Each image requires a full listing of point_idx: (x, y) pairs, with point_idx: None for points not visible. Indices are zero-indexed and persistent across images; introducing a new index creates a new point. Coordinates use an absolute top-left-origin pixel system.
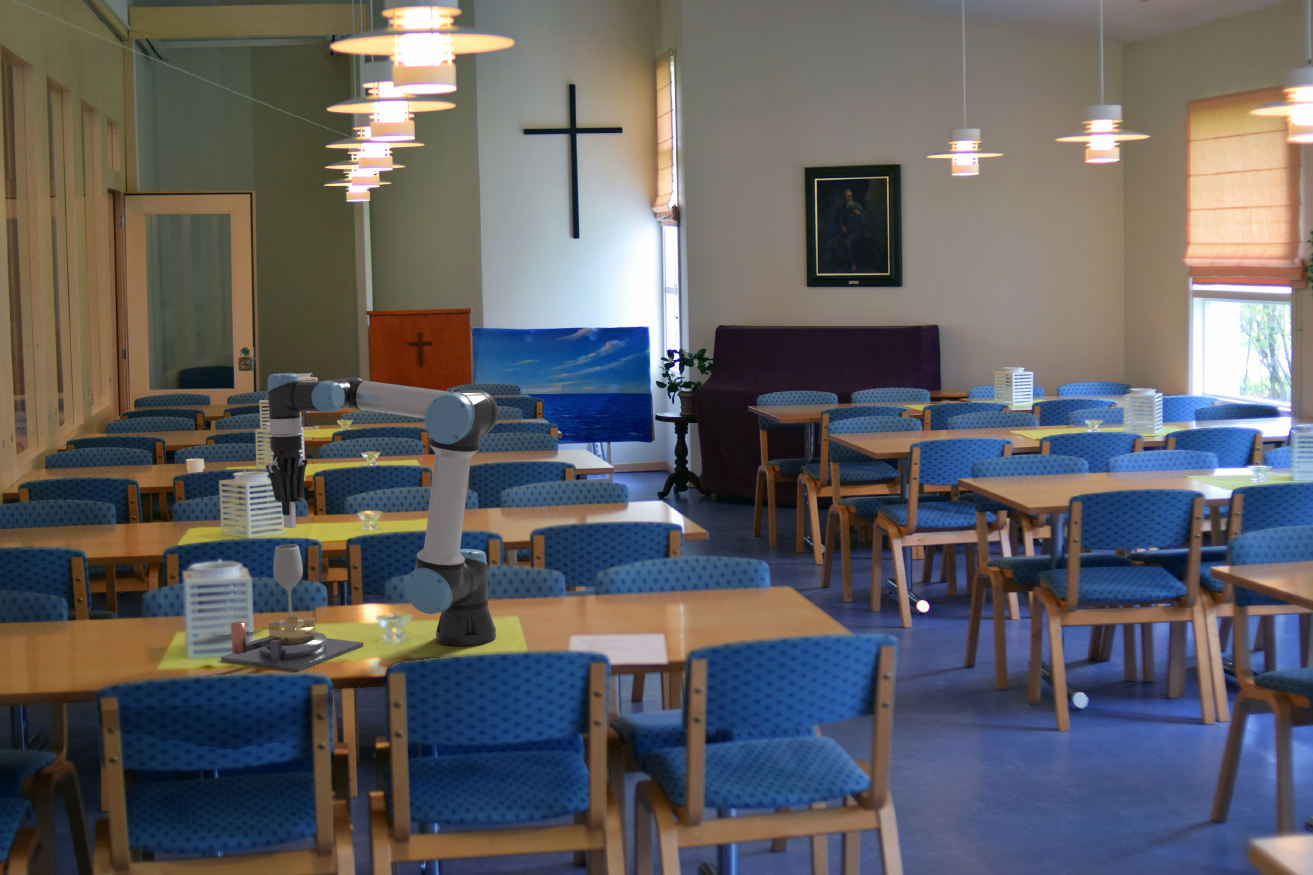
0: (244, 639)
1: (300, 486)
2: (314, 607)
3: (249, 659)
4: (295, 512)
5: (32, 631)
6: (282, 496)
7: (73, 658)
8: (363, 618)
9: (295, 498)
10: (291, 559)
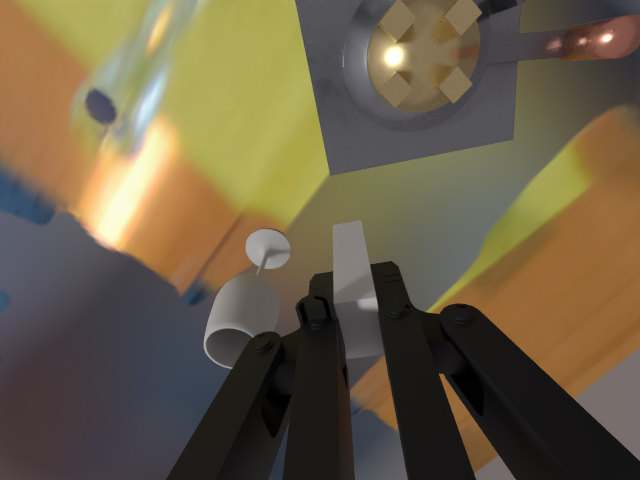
0: (593, 22)
1: (242, 409)
2: (185, 295)
3: (508, 70)
4: (334, 262)
5: (480, 449)
6: (487, 330)
7: (570, 331)
8: (160, 169)
9: (325, 322)
10: (247, 304)
